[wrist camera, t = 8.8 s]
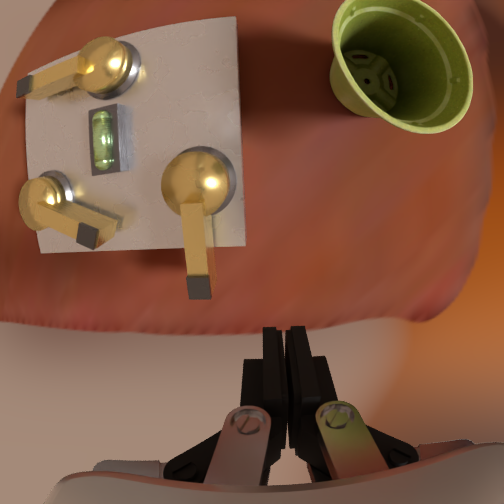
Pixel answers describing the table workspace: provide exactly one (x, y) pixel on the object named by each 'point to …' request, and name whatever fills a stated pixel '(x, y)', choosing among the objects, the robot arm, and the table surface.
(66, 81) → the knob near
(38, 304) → the table surface
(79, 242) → the knob
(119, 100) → the base plate
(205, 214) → the knob
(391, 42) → the plant pot
